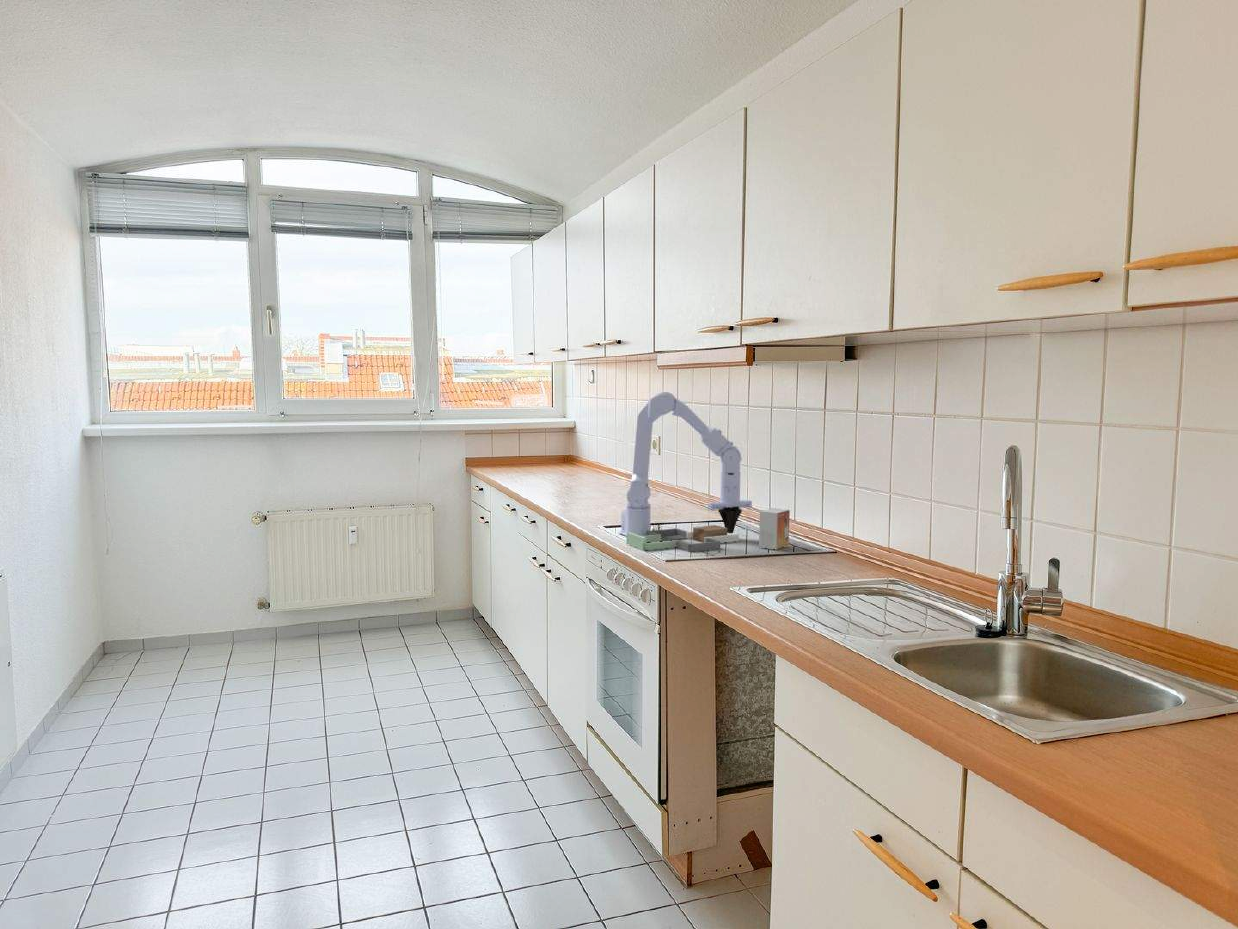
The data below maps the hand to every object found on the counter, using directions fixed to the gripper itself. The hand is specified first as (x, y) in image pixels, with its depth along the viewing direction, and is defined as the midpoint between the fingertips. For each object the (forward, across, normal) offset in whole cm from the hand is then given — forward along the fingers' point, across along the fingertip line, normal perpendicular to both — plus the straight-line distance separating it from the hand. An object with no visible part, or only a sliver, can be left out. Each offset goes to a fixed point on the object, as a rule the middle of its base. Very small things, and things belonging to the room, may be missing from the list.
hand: (729, 532), depth 250 cm
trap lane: (+2, -16, 0) cm, 16 cm away
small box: (+2, +4, -16) cm, 17 cm away
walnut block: (+2, -7, 0) cm, 7 cm away
